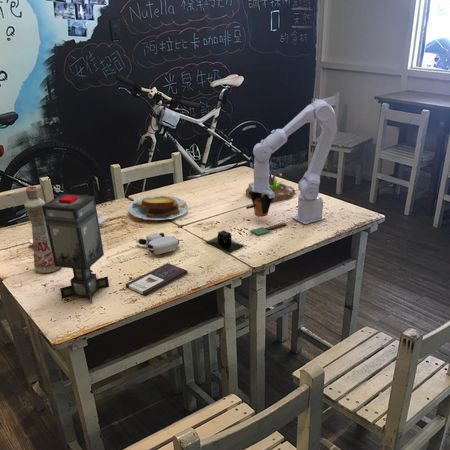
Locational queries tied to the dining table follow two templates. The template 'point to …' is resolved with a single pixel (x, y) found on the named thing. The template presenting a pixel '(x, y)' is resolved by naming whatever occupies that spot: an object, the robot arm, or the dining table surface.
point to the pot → (257, 208)
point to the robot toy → (159, 243)
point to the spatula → (266, 229)
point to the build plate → (225, 242)
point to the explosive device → (75, 241)
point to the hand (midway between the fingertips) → (261, 210)
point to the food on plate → (157, 207)
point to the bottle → (39, 232)
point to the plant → (277, 189)
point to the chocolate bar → (156, 279)
